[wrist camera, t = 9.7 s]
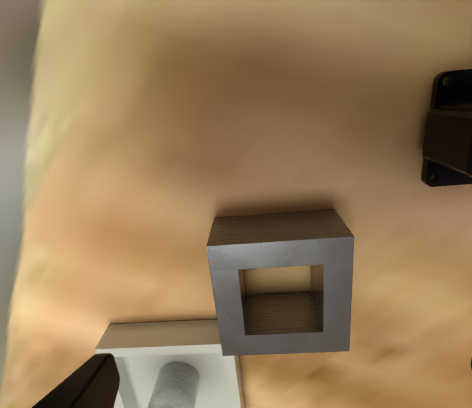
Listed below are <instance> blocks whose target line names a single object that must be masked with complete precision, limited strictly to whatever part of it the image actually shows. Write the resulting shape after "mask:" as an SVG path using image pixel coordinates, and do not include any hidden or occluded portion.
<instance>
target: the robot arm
mask: <svg viewBox="0 0 472 408" xmlns="http://www.w3.org/2000/svg"><path fill="white" fill-rule="evenodd" d="M445 77H447V79H448V82H447V84H446V85H445V86H444V85H443V83H442V81H443V79H444V78H445ZM423 156H424V157H425V158H424V167H423V175H422V181H423V182H424V183H425V184H427V185H428V186H432V187H436V186H449V185H462V184H472V69H466V70H456V71H447V72H442V73H440V74H438V75H437V76H436V78H435V79H434V83H433V91H432V100H431V108H430V111H429V112H428V114H427V120H426V128H425V137H424V145H423ZM432 175H435V178H434V179H433V180H432V181H430V178H431V176H432ZM471 368H472V360H471ZM119 385H120V375H119V371H118V368H117V365H116V362H115V358H114V356H113V355H112V354H111V353H98V354H95V355H94V356H92V357H91V358H90V359H89V360H88V361H86V362H85V363H84V364H83V365H82V366H80V367H79V368H78V369H77V370H76V371H74V372H73V373H72V374H71V375H70V376H69V377H67V378H66V379H65V380H64V381H63V382H61V383H60V384H59V385H58V386H57V387H56V388H54V389H53V390H52V391H51V392H50V393H48V394H47V395H46V396H45V397H44V398H43V399H41V400H40V401H39V402H38V403H37V404H35V405H34V406H33V407H32V408H114V404H115V400H116V396H117V393H118V389H119Z"/></svg>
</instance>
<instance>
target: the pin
mask: <svg viewBox="0 0 472 408" xmlns="http://www.w3.org/2000/svg"><path fill="white" fill-rule="evenodd" d="M199 381H200V376H199V373H198V371H197V370H196V369H195V368H194V367H193V366H192V365H190V364H188V363H185V362H181V361H173V362H169V363H167V364H165V365H163V366H162V367H161V369H160V370H159V373H158V376H157V379H156V382H155V386H154V389H153V392H152V395H151V398H150V401H149V404H148V407H147V408H195V405H196V399H197V393H198V387H199Z"/></svg>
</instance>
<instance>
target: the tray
mask: <svg viewBox="0 0 472 408" xmlns="http://www.w3.org/2000/svg"><path fill="white" fill-rule="evenodd" d="M95 352H96V354H98V353H111V354H112V355H113V356H114V358H115V362H116V365H117V368H118V371H119V375H120V385H119V389H118V393H117V396H116V400H115V404H114V408H147V407H148V404H149V401H150V398H151V395H152V392H153V389H154V386H155V382H156V379H157V376H158V373H159V370H160V369H161V367H162V366H163V365H165V364H167V363H169V362H173V361H181V362H185V363H188V364H190V365H192V366H193V367H194V368H195V369H196V370H197V371H198V373H199V376H200V381H199V387H198V393H197V399H196V405H195V408H245V402H244V394H243V386H242V378H241V370H240V362H239V355H238V356H223V355H222V348H221V342H220V335H219V328H218V321H217V319H210V320H189V321H168V322H148V323H127V324H110V325H109V326H108V328H107V330H106V331H105V333H104V335H103V336H102V338H101V340H100V341H99V343H98V345H97V346H96V348H95Z"/></svg>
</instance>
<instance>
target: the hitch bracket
mask: <svg viewBox="0 0 472 408" xmlns="http://www.w3.org/2000/svg"><path fill="white" fill-rule="evenodd" d="M206 247H207V254H208V261H209V267H210V274H211V281H212V288H213V294H214V301H215V308H216V315H217V321H218V328H219V335H220V342H221V348H222V355H223V356H238V355H263V354H289V353H314V352H340V351H349V347H350V323H351V299H352V275H353V251H354V236H353V234H352V233H351V231H350V230H349V229H348V227H347V226H346V224H345V223H344V222H343V220H342V219H341V217H340V216H339V215H338V213H337V212H336V210H335V209H329V210H316V211H302V212H289V213H275V214H261V215H248V216H234V217H221V218H214V221H213V224H212V228H211V232H210V235H209V239H208V242H207V246H206ZM303 265H311V292H293V293H274V294H256V295H246V290H245V281H244V271H243V269H253V268H270V267H287V266H303Z"/></svg>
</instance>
